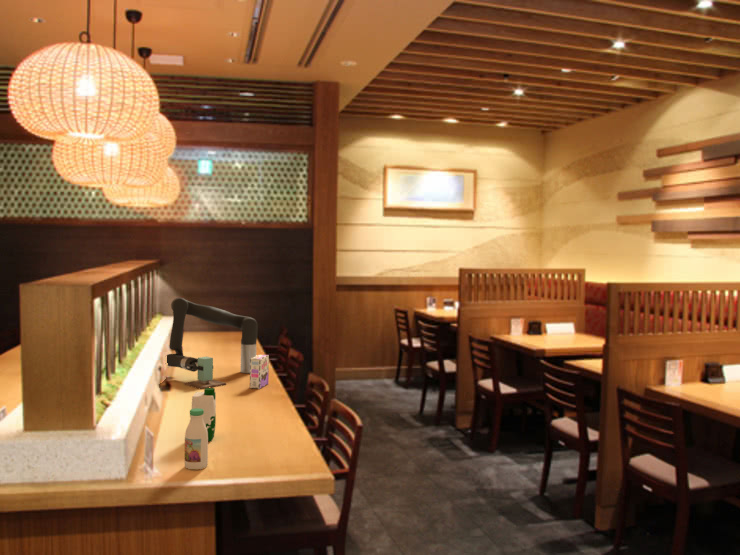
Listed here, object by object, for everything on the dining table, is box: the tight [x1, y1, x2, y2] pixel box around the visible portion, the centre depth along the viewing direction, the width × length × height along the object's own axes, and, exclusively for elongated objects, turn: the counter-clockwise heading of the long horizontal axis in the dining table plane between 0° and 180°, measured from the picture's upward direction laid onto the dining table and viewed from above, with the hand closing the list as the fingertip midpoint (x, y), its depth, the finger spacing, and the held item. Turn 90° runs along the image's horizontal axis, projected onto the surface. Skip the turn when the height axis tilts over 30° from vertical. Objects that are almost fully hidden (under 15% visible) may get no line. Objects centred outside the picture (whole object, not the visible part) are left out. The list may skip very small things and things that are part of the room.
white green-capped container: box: [191, 387, 217, 442], centre depth 249 cm, size 9×9×20 cm
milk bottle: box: [184, 408, 209, 470], centre depth 218 cm, size 8×8×20 cm
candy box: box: [249, 354, 270, 390], centre depth 345 cm, size 14×6×16 cm, turn 168°
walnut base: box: [183, 379, 227, 390], centre depth 346 cm, size 16×16×8 cm
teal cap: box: [196, 356, 214, 381], centre depth 346 cm, size 6×6×12 cm
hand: (207, 368), depth 344 cm, fingers closed on teal cap, 5 cm apart
